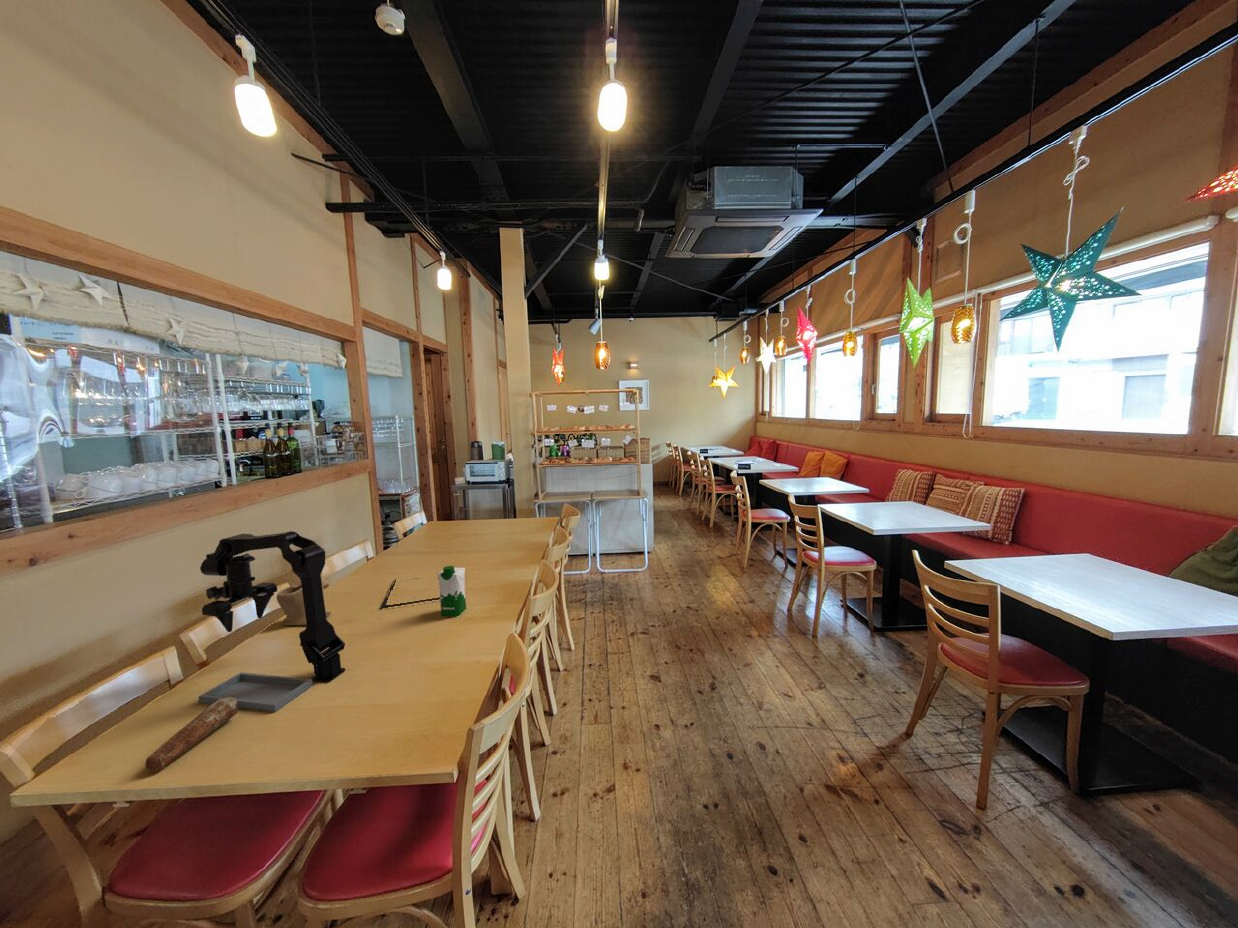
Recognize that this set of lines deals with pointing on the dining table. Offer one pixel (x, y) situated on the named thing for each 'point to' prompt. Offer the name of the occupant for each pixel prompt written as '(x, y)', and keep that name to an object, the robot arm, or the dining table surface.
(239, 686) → the serving tray
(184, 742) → the brown tapered rod
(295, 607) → the stone cup
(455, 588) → the milk carton
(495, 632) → the dining table surface
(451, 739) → the dining table surface
